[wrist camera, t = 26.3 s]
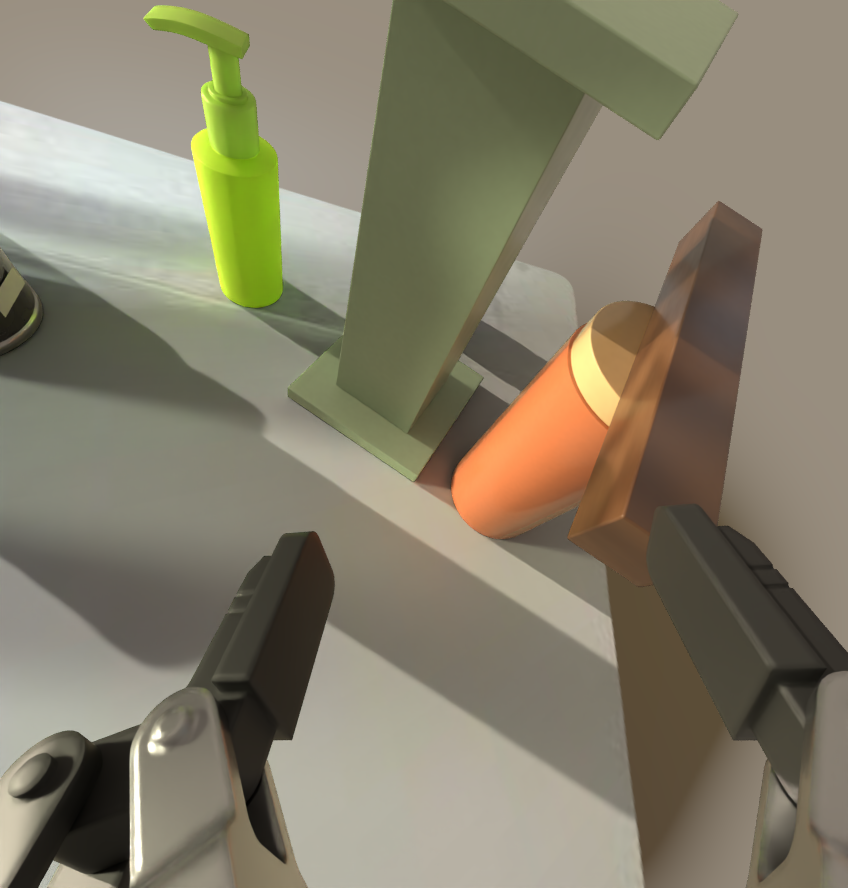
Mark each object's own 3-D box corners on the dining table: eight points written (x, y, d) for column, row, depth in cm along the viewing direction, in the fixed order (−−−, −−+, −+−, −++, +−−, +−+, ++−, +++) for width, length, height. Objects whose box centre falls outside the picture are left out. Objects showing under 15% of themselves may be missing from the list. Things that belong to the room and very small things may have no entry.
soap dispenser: (218, 255, 42) (163, -19, 24) (288, 273, 43) (282, 27, 26) (201, 296, 39) (125, 20, 22) (276, 313, 40) (260, 68, 23)
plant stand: (413, 482, 37) (694, 94, 11) (287, 396, 37) (263, -186, 11) (478, 385, 44) (741, 10, 18) (372, 313, 44) (479, -159, 18)
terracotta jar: (432, 473, 37) (553, 322, 20) (500, 435, 42) (651, 282, 24) (488, 558, 35) (678, 473, 18) (554, 509, 39) (763, 400, 22)
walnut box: (638, 588, 15) (711, 576, 12) (565, 539, 15) (622, 516, 12) (718, 269, 27) (763, 229, 24) (678, 242, 27) (718, 199, 24)
